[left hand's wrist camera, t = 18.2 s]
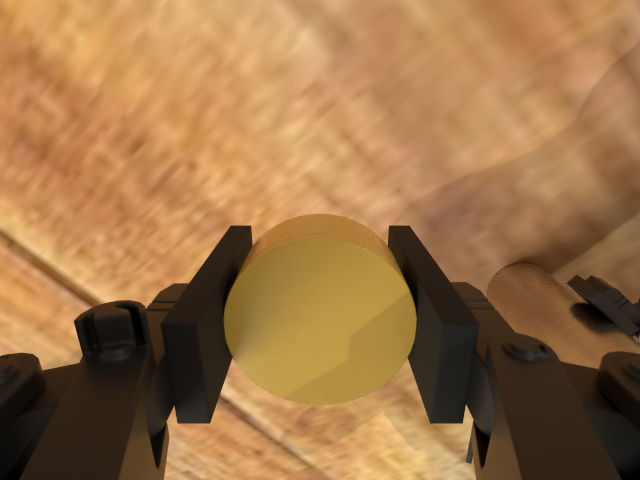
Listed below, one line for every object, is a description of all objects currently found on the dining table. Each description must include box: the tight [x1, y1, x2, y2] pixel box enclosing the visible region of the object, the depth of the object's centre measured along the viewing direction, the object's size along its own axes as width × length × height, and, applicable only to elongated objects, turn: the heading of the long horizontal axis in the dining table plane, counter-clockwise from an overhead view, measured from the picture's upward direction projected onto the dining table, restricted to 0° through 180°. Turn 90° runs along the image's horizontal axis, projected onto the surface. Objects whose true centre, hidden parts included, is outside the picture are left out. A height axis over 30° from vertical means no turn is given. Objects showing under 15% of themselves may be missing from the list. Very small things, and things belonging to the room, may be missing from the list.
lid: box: [223, 214, 417, 405], centre depth 11 cm, size 5×5×2 cm
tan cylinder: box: [487, 263, 640, 369], centre depth 20 cm, size 5×5×17 cm
